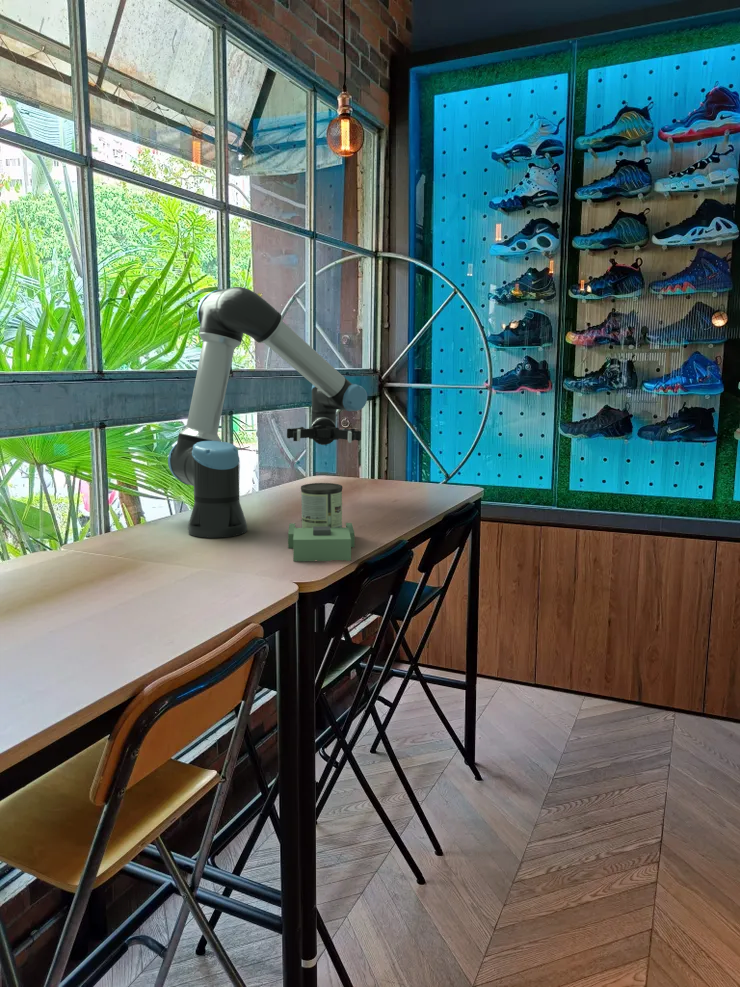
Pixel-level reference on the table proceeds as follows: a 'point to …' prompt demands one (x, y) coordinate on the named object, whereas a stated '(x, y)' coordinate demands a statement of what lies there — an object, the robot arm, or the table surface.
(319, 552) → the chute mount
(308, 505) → the coffee can
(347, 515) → the table surface
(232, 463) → the robot arm
